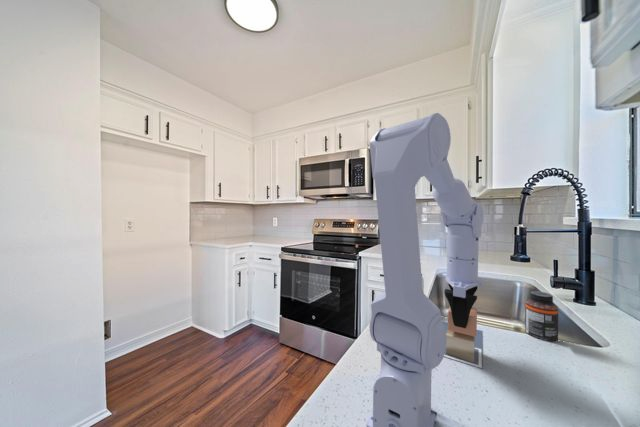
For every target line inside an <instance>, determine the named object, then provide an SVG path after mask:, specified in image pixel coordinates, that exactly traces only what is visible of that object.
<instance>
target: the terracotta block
mask: <svg viewBox="0 0 640 427" xmlns="http://www.w3.org/2000/svg"><path fill="white" fill-rule="evenodd" d="M477 319H478V308H475V307H472V308H471V311H470V314H469V319H468V323H467V327H466V328H462V327H457V326H454V323H453V319H452V313H451V308H450V306H449V308H448V311H447V323H448V330H450V331H454V332H458V333H462V334H466V335H470V336H474V337H476V332H477V330H478V329H477V328H478V326H477V325H478V320H477Z"/></svg>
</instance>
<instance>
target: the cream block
mask: <svg viewBox="0 0 640 427" xmlns="http://www.w3.org/2000/svg"><path fill="white" fill-rule="evenodd" d="M446 335H447V344H446V354H448V355H451V356H455V357H458V358H461V359H464V360H468V361H471V362H474V351H475V337H474V336H470V335H466V334H462V333H458V332H454V331H450V330H447V334H446Z"/></svg>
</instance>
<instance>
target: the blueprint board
mask: <svg viewBox="0 0 640 427" xmlns="http://www.w3.org/2000/svg"><path fill="white" fill-rule="evenodd" d="M442 323H443V326H444V328H445V331H446V334H447V330H448V321H447V322H446V321H442ZM483 335H484V334H483V330H481V329H480V330H479V329H477V332H476V337H475V351H474V362H471V361H468V360H464V359H461V358H458V357H455V356H451V355H448V354H446V350H445V354H444V357H443V359H444V358H446V359H448V360H451V361H454V362H458V363H460V364H464V365H467V366H471V367H474V368H477V369H480V370H484V349H483V348H484V346H483V345H484V344H483V343H484V341H483V337H484V336H483Z"/></svg>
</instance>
